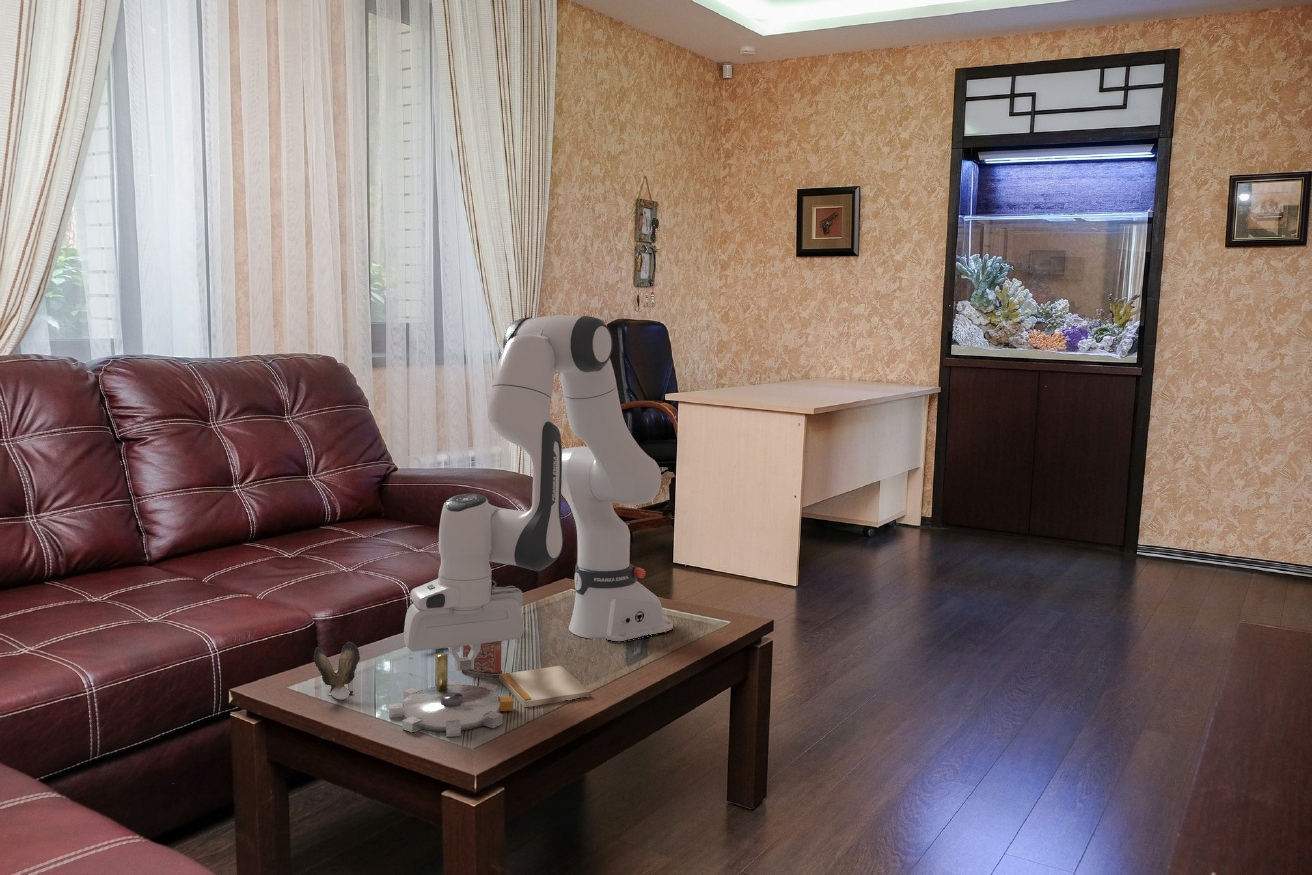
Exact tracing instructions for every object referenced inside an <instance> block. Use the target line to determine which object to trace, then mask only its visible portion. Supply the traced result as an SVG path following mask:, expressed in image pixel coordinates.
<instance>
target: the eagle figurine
mask: <svg viewBox="0 0 1312 875" xmlns="http://www.w3.org/2000/svg"><path fill="white" fill-rule="evenodd" d="M360 658H361V656H360V651H359V648H358V646H357V645H356V644H355V643H354V642H351V641H349V640H348V641H347V642H345V643H344V645H342V648H341V652H340V656H339V659H338V668H337V671H336V672H335V670H334V667H333V666H332V664H331V662H330V660H329V659H328V657H327V656H326V654H325V651H324V650H323V649H322V648H319V647H318V646H317V647H315V650H314V654H313V661H314V664H315V666H316V668H317V670H318V671H319V673H320V675H321V680H322V682H323V683H324V684H325V685H326V686H330V690H329V692H328V694H329V693H331V695H332V696H331V697H333V698H335V699H336V700H341V701H342V700H346V699H347V698H348V697H349V696H350V695H349V694H352V695H353V694H354V691H352V690H349V689H348V688H347V687H345V685H349V684H351V682H352V681H353V680H354V678H355V677H356V676H355V674H356V673H355V672H356V669H357V666H358V665H359V664H358V663H359V662H360Z"/></svg>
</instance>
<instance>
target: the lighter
mask: <svg viewBox="0 0 1312 875" xmlns="http://www.w3.org/2000/svg"><path fill="white" fill-rule="evenodd" d="M502 644H503V641H496V642H488V643H481V649H480V651H479V653H478V655H477V656H476V658H475V659H474V669H467V670H461V674H463V675H466V676H471V677H475V678H481V679H491V680H497V679H498V680H499V674H503V670H502ZM471 649H472V648H471V647H470V646H469V645H464V646H462V657H468V654H469V652H470V651H471Z"/></svg>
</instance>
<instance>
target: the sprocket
mask: <svg viewBox="0 0 1312 875" xmlns="http://www.w3.org/2000/svg"><path fill="white" fill-rule="evenodd" d="M448 656H449V654H448V653H446V652H440V653H436V654H435V686H431V687H427V688H423V689H420V688H418V687H415V686H412V687H410V688H407V689H405V690H403V701H402V702H392V703H390V702H389V705H388V708H389V710H388V716H389V717H388V718H389V719H396V718H402V720H401V724H402V725H401V726H402V728H401V730H402V729H404V730H408V731H409V732H415V733H417V732H419V731H421V730H424V731H431V732H445V735H446V736H445V737H447V738H450V737H461V736H462V733H461V732H462V731H467V730H473V729H476V728H479V727H482V726H484V727H485V726H486V727H488V728H491V729H495V728H497V727H499V726H500V725H501V726H502V725H503V713H501V712H511V711H514V698H513V696H511V695H510V696H499V694H498V693H497V692H498V686H497V685H496V684H491V683H488V682H487V683H484V684H482V685H480V686H479V685H472V684H471V685H470V684H458V683H457V680H448V677H449V676H448V675H449V674H448V673H449V672H448V669H449V668H448V660H449V659H448ZM409 732H408V733H409Z"/></svg>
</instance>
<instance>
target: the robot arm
mask: <svg viewBox="0 0 1312 875" xmlns="http://www.w3.org/2000/svg"><path fill="white" fill-rule="evenodd" d="M613 346H614V345H613V336H612V333H611V330H610V328H609V327H608V325H607V324H606V323H605V322H604V320H602V319H601V318H597V317H594V316H590V315H583V316H578V315H571V314H570V315H567V314H555V315H548V316H540V317H539V316H537V317H530V316H527V317H523V318H522V317H521V318H518V319H517V320H514V321H513V322H512V323H510V325H509V326H508V328H507V329H506V331H505V333H504V335H503V340H502V348H503V349H502V351H501V354H500V357H499V360H498V362H497V365H496V368H495V372H494V375H493V379H492V382H491V383H492V384H491V387H490V393H489V397H488V403H487V418H488V420H489V422H490V424H491V426H492V427H493V429H494V430H495V431H496V433H497V434H498V435H499V436H501V437H502V438H503V439H505V440H507V441H508V442H510V443H511V444H514V445H516V446H517V447H519V448H521V449H522V450H524V451H525V452H526V453H527V454H528V455H529V457H530V459H531V461H532V466H533V470H532V495H531V497H532V498H531V500H532V501H531V507H530V509H528V511H527V510H525V511H524V510H519V509H518V510H517V509H511V508H509V509H508V508H504V507H498V506H495V505H493V504H490V503H489V500H488V498H487V497H486V496H484V495H482V494H477V493H464V494H457V495H454V496H452V497H450V498H448V499H447V500H445V502H444V503H443V506H442V509H441V514H440V518H439V519H440V520H439V521H440V522H439V527H438V528H439V529H438V552H439V555H440V566H439V570H438V578H436V579H434V580H431V581H429V582H426V583H424V584H422V585H419V586H416V587H414V588H412V589H411V591H410V598H411V601H412V604H410V605H409V607H408V608H407V611H406V614H405V620H404V628H403V642H404V645H405V647H406V648H407V649H409V650H410V651H411V652H413V653H414V652H419V651H420V652H421V651H430V650H438V649H445V648H448V650H449V653H450V654H451V655H452V657H453V659H454V669H455V670H456V671H457V672H458V671H462V670H467V669H474V659H475V658H476V656H477V655H478V653H479V651H480V649H481V643H488V642H496V641H502V642H504V641H511V640H518V639H520V638H521V637H522V636H523V634H524V623H523V621H524V620H523V614H522V608H523V604H524V594H523V591H522V590H521V588H518V587H516V586H514V585H508V586H495V587H493V588H491V585H492V581H491V580H492V567H491V565H490V563H491V562H492V563H496V564H504V565H509V566H516V567H520V568H524V569H527V570H531V571H535V572H540V571H543V570H544V569H547V568H548V567H550V566H552V564H553V563H555V562H556V560H558V558H559V557H560V556H561V553H562V551H563V545H564V533H563V524H562V522H563V521H562V495H563V496H564V499H565V500H566V501H567V503H568V506H569V507H570V508H569V509H570V510H571V512H572V515H573V518H574V522H575V527H576V534H577V540H576V541H577V563H576V564H575V570H574V571H575V573H574V590H575V596H574V597H575V598H574V603H573V605H574V606H573V609H572V615H571V619H570V622H569V626H568V631H569V633H571V634H573V635H575V636H577V637H581V638H585V639H591V640H594V639H601V638H603V639H604V640H605V639H607V640H606V641H608V640H612V641H623V640H627V639H632V638H634V637H640V636H642V635H648V634H650V633H656V632H659V631H664V630H667V629H670V628H673V629H674V624H673V622H672V621H671V619H669V618H668V617H667V616H665V615H664V614H663V613H664V611H663V607H662V603H661V600H660V598H659V597H657V595H656V594H655V593H653V592H651V591H650V590H649V589H648V588H646V586H644V585H643V584H641V583H640V582H639V581H638V580H637V578H639V579H644V578H645V576H646V573H647V572H646V570H645V568H641V567H640V566H639V567H638V566H635V565H633V564H631V563H630V551H631V548H630V547H631V533H630V529H629V527H628V525H627V523H626V522H625V521H623V520H622V519H621V518H620V517H619V516H618V514H617V512H616V511H615V509H614V507H613V504H618V505H619V504H620V505H624V506H630V505H632V506H633V505H634V506H635V505H643V504H648V503H650V502H651V501H653V499H655V497H656V496H657V495H658V493H659V491H660V488H661V485H662V474H661V470H660V467H659V465H658V462H656V460H655V459H653V457H650V455H648V454H647V453H646V452H645V451H644V450H643V449H642V448H641V446H639V444H638V443H637V441H636V440H635V438H634V437H633V435H632V434H631V432H630V430H629V428H628V426H627V424H626V422H625V418H624V414H623V411H622V406H621V402H620V397H619V396H620V395H619V390H618V386H617V380H616V376H615V370H614V367H613V363H612V360H611V356H612V353H613ZM555 374H560V381H561V382H560V384H561V388H562V390H561V391H562V395H563V396H562V397H563V399H564V400H563V401H564V405H565V411H566V416H567V421H568V425H569V428H570V429H569V430H571V432H572V433H573V435H575V436H576V438H578V439H580V440H581V441H582V442H583V443H584V444H585V445H586V446H581V445H580V446H573V447H566V448H563V445H562V444H563V442H562V436H561V435H562V434H561V432H560V429H559V427H558V426H556V424H554V423H553V421H552V416H551V402H552V395H553V389H554V380H555ZM612 641H611V642H612ZM464 645H469V646H470V647H471V648H472V649H471V651H470V652H469V654H468V657H463V656H462V657H459V654H458V653H459V652H460V651H461V650H460V649H461V647H463V646H464Z"/></svg>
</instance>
